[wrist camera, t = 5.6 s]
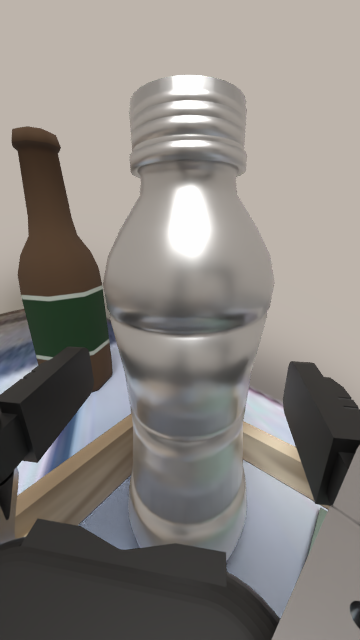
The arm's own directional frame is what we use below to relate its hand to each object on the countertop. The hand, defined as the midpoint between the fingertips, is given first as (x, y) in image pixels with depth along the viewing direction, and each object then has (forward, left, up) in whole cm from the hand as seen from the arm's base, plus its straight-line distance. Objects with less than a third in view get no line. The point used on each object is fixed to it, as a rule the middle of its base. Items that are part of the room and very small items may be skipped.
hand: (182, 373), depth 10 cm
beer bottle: (+19, -5, -11) cm, 23 cm away
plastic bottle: (0, -1, -11) cm, 11 cm away
